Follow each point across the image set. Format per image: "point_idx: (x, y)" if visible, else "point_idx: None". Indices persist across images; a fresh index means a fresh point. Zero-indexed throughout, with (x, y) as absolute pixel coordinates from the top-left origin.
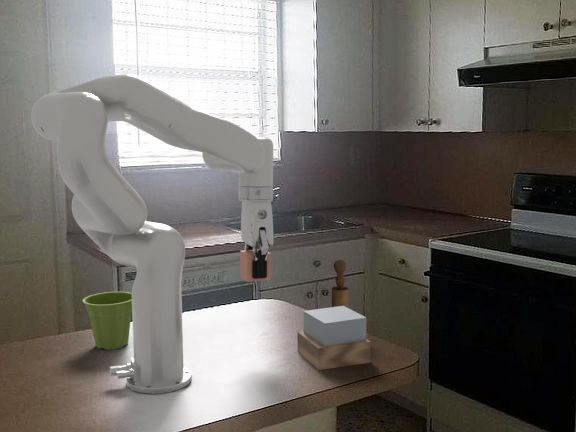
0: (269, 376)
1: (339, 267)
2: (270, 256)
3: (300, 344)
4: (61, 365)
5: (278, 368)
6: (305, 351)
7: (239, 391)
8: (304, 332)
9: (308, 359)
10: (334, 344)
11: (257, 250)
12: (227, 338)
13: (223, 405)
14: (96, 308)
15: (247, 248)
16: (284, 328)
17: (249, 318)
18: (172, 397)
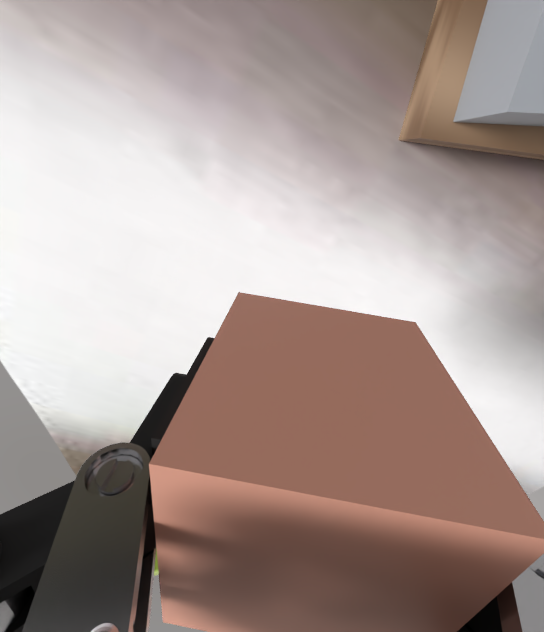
0: (496, 303)
1: None
2: (518, 499)
3: (436, 143)
4: None
5: (471, 261)
6: (480, 149)
7: (510, 382)
8: (463, 122)
9: (497, 153)
10: None
11: (212, 543)
12: (193, 274)
13: (538, 423)
14: (157, 561)
15: (149, 613)
16: (155, 51)
17: (13, 128)
18: None
